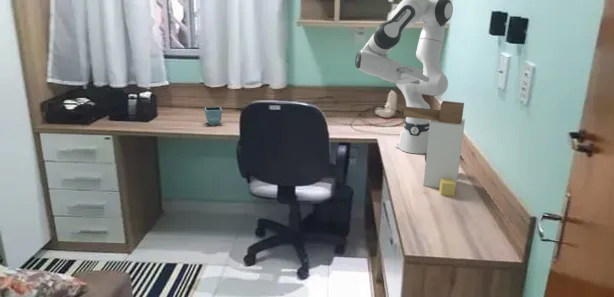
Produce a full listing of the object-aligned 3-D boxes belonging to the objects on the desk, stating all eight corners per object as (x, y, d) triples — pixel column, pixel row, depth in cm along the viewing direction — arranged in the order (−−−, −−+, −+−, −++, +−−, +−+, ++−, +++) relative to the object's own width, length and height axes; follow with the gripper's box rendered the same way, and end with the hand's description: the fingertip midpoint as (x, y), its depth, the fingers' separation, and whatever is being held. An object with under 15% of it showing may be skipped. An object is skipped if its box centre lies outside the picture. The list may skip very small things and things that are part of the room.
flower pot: (204, 122, 283) (204, 107, 280) (220, 121, 286) (220, 106, 283) (206, 126, 275) (206, 110, 272) (222, 125, 278) (222, 109, 275)
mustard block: (439, 190, 194) (440, 178, 193) (452, 191, 194) (453, 179, 193) (440, 195, 190) (442, 183, 188) (454, 196, 189) (455, 184, 188)
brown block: (406, 114, 203) (407, 97, 201) (461, 120, 196) (464, 102, 194) (402, 117, 197) (404, 100, 195) (460, 124, 189) (462, 106, 187)
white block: (427, 176, 209) (434, 115, 202) (457, 180, 205) (465, 119, 198) (423, 185, 199) (430, 122, 191) (454, 190, 195) (462, 126, 187)
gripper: (404, 59, 194) (436, 70, 196) (386, 67, 214) (415, 77, 216) (400, 75, 194) (432, 85, 196) (382, 81, 214) (412, 91, 216)
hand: (423, 81), depth 206 cm, fingers open, 8 cm apart
